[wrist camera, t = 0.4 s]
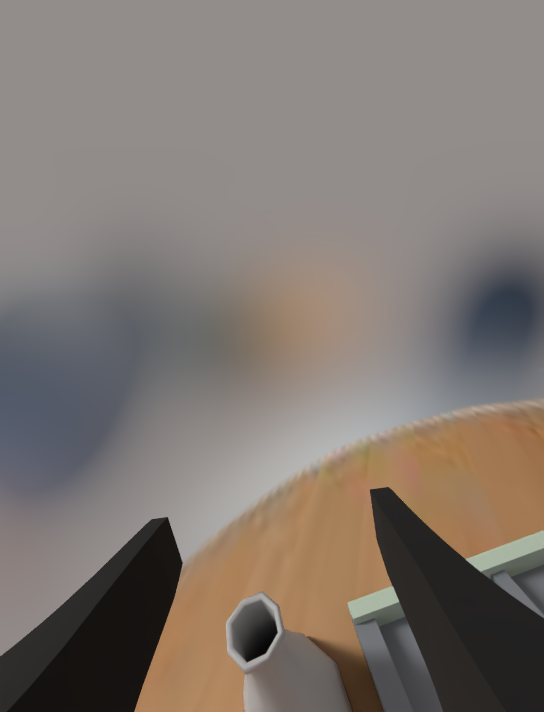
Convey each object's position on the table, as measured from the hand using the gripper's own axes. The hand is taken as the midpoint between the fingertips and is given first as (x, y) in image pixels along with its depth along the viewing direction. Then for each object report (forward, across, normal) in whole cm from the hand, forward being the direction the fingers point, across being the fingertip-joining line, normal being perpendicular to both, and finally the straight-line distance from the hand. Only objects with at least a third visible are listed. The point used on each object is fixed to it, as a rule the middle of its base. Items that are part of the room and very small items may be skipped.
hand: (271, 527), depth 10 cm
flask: (+5, +2, +19) cm, 20 cm away
